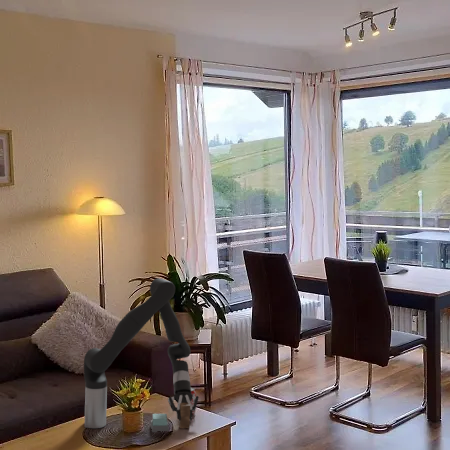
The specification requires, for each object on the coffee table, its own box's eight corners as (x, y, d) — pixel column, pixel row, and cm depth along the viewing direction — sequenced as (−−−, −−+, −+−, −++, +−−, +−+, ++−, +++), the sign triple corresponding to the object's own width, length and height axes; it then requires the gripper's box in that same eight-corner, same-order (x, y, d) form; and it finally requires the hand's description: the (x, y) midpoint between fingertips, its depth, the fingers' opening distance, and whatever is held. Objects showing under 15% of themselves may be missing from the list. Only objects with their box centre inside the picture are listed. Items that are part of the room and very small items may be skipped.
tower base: (152, 433, 287) (152, 426, 287) (150, 427, 294) (150, 420, 294) (168, 432, 289) (168, 425, 288) (166, 426, 295) (166, 419, 295)
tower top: (152, 425, 288) (152, 418, 287) (152, 420, 294) (152, 413, 293) (166, 425, 288) (167, 418, 288) (166, 420, 294) (166, 413, 294)
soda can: (196, 412, 313) (197, 387, 313) (194, 417, 306) (194, 391, 306) (181, 411, 314) (182, 386, 313) (178, 416, 307) (179, 390, 306)
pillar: (180, 428, 291) (181, 406, 291) (178, 425, 295) (179, 402, 295) (189, 428, 292) (190, 405, 292) (187, 424, 296) (188, 402, 295)
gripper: (167, 379, 298) (169, 416, 287) (198, 378, 301) (202, 414, 290) (165, 387, 304) (167, 423, 293) (196, 386, 307) (200, 422, 296)
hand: (185, 419), depth 292 cm, fingers closed on pillar, 4 cm apart
